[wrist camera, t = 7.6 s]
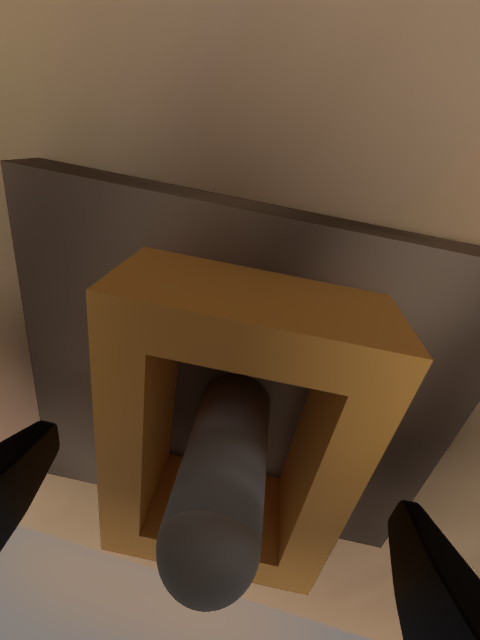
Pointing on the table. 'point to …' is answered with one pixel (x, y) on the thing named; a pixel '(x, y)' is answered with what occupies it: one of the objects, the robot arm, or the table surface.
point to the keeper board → (222, 386)
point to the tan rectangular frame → (252, 360)
